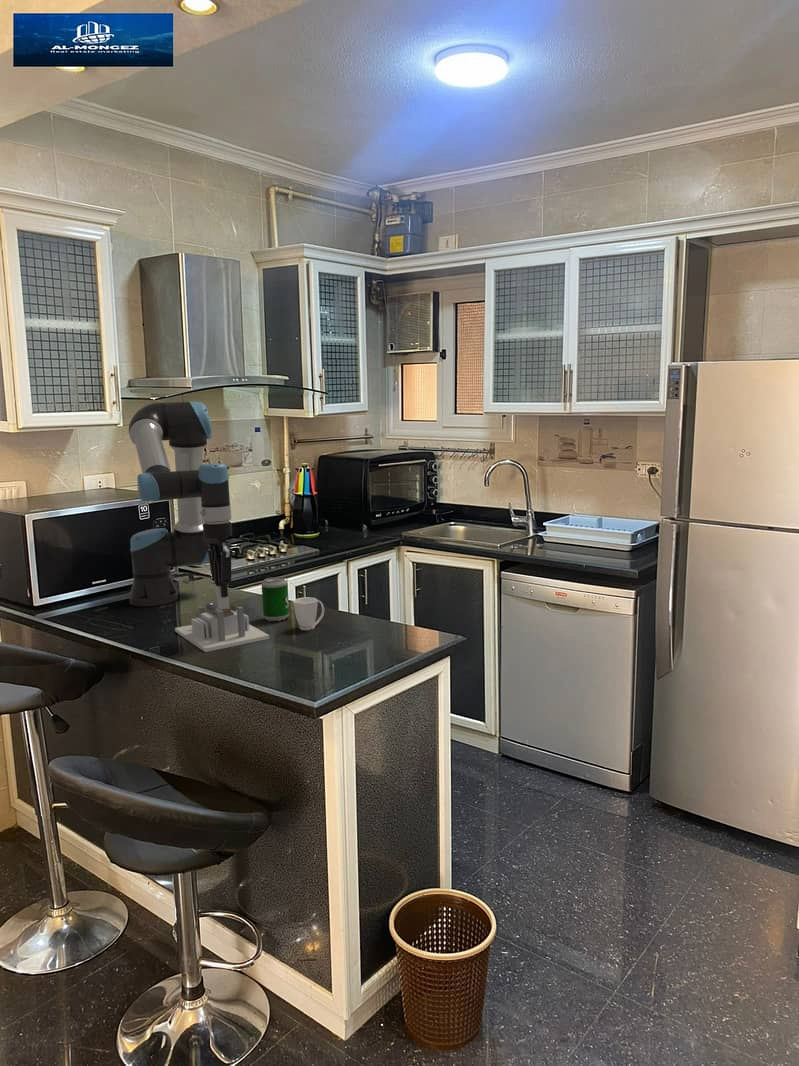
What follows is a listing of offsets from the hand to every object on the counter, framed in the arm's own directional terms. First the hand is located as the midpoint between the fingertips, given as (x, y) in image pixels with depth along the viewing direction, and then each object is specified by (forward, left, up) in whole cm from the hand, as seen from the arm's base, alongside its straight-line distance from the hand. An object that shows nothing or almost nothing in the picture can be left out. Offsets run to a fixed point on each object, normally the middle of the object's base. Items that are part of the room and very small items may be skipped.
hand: (223, 608), depth 213 cm
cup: (+6, +23, -9) cm, 25 cm away
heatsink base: (-3, 0, -8) cm, 9 cm away
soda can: (-8, +19, -9) cm, 23 cm away
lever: (-4, 0, -2) cm, 4 cm away
